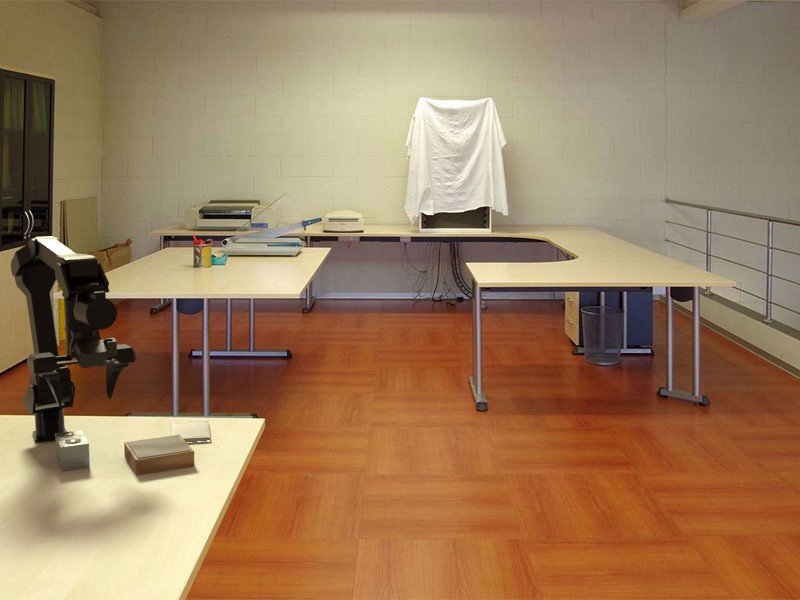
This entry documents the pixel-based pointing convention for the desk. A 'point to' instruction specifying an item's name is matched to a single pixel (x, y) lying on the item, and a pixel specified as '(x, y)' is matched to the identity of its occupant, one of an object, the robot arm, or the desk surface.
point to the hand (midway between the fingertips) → (85, 402)
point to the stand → (158, 454)
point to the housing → (72, 450)
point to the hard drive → (191, 430)
